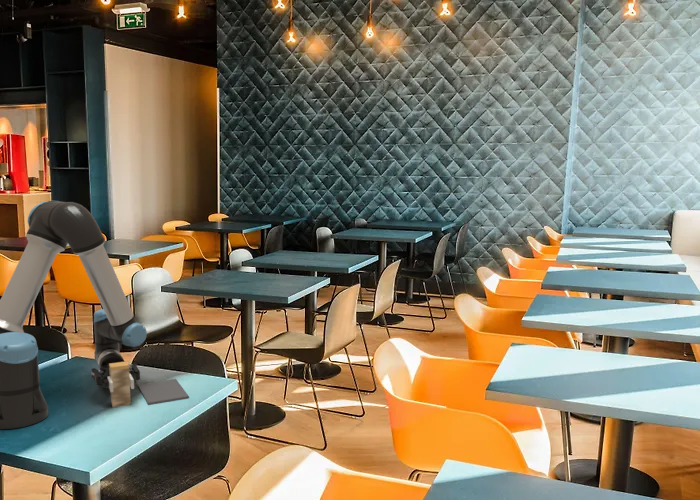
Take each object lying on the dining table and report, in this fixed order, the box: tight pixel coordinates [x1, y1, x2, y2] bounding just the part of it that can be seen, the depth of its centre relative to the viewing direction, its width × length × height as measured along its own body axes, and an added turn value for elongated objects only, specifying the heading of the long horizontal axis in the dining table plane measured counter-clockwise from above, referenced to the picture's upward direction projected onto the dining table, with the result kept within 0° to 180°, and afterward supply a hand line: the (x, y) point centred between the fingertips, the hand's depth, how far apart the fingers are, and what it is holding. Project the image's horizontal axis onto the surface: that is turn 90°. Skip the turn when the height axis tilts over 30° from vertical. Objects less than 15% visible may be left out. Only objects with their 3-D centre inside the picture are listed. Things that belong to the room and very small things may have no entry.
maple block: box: [109, 360, 132, 408], centre depth 188 cm, size 5×4×12 cm
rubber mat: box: [137, 378, 190, 406], centre depth 198 cm, size 12×18×1 cm, turn 28°
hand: (122, 386), depth 183 cm, fingers closed on maple block, 5 cm apart
